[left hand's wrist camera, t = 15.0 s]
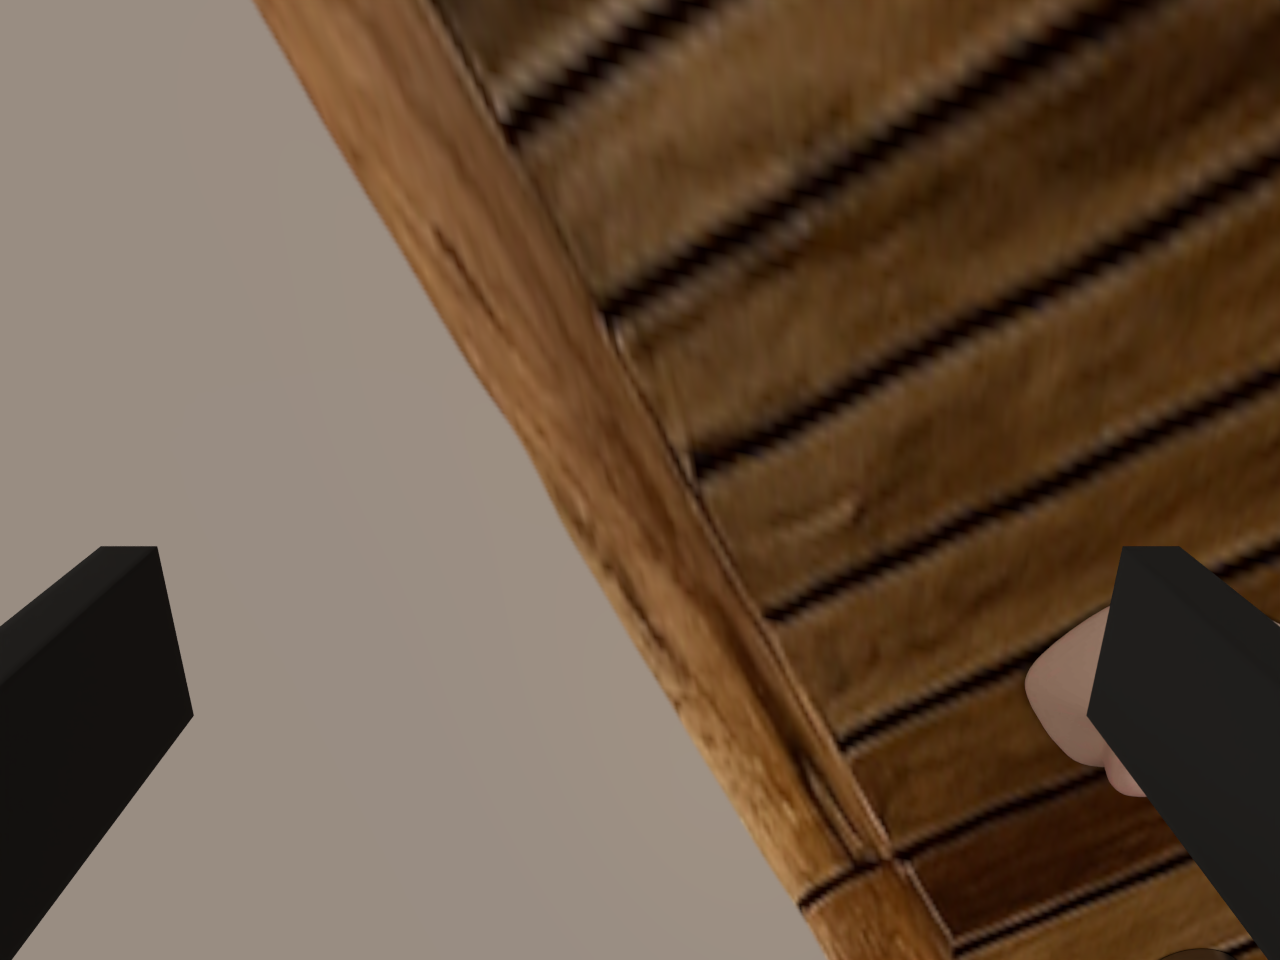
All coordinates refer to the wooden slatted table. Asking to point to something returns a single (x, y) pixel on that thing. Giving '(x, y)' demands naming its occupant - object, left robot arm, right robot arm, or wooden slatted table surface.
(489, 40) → the wooden slatted table surface
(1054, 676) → the anatomical model
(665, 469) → the wooden slatted table surface
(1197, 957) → the can
